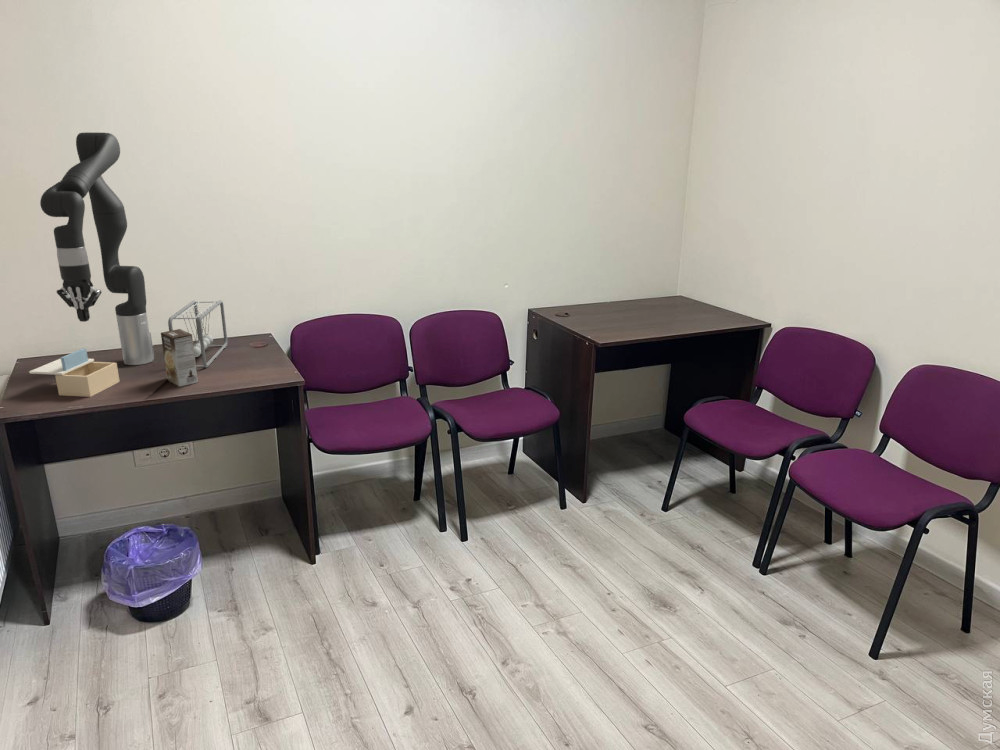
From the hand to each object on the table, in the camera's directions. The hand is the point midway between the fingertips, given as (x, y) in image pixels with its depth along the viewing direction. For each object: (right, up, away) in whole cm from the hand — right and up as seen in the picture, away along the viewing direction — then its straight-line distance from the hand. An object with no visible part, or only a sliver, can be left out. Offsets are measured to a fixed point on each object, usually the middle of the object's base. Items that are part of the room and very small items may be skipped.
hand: (84, 320), depth 208 cm
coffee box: (+22, -18, +16) cm, 33 cm away
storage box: (-2, -21, +7) cm, 22 cm away
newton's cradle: (+17, -10, +42) cm, 47 cm away
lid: (-10, -14, +6) cm, 18 cm away
